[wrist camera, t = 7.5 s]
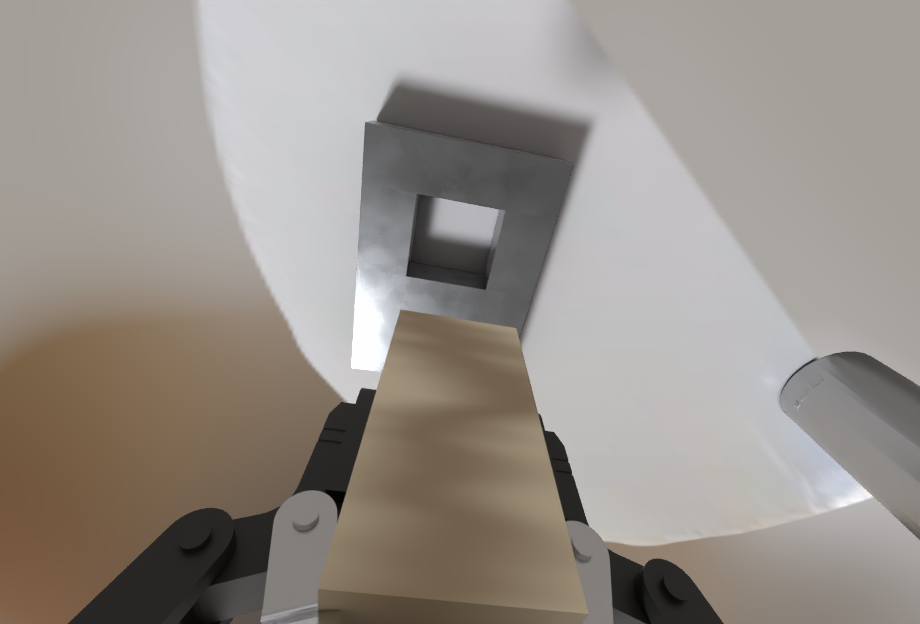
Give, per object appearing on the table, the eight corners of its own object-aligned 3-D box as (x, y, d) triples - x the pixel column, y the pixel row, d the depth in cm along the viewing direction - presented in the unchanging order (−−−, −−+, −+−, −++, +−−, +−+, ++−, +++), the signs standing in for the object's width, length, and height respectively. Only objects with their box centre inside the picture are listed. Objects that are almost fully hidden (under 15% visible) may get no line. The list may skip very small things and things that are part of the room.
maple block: (516, 328, 14) (589, 614, 6) (490, 412, 16) (519, 706, 8) (400, 309, 14) (318, 589, 6) (389, 398, 16) (318, 693, 8)
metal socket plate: (563, 159, 27) (574, 165, 25) (499, 369, 37) (502, 390, 34) (374, 120, 26) (364, 122, 24) (359, 348, 36) (351, 368, 33)
